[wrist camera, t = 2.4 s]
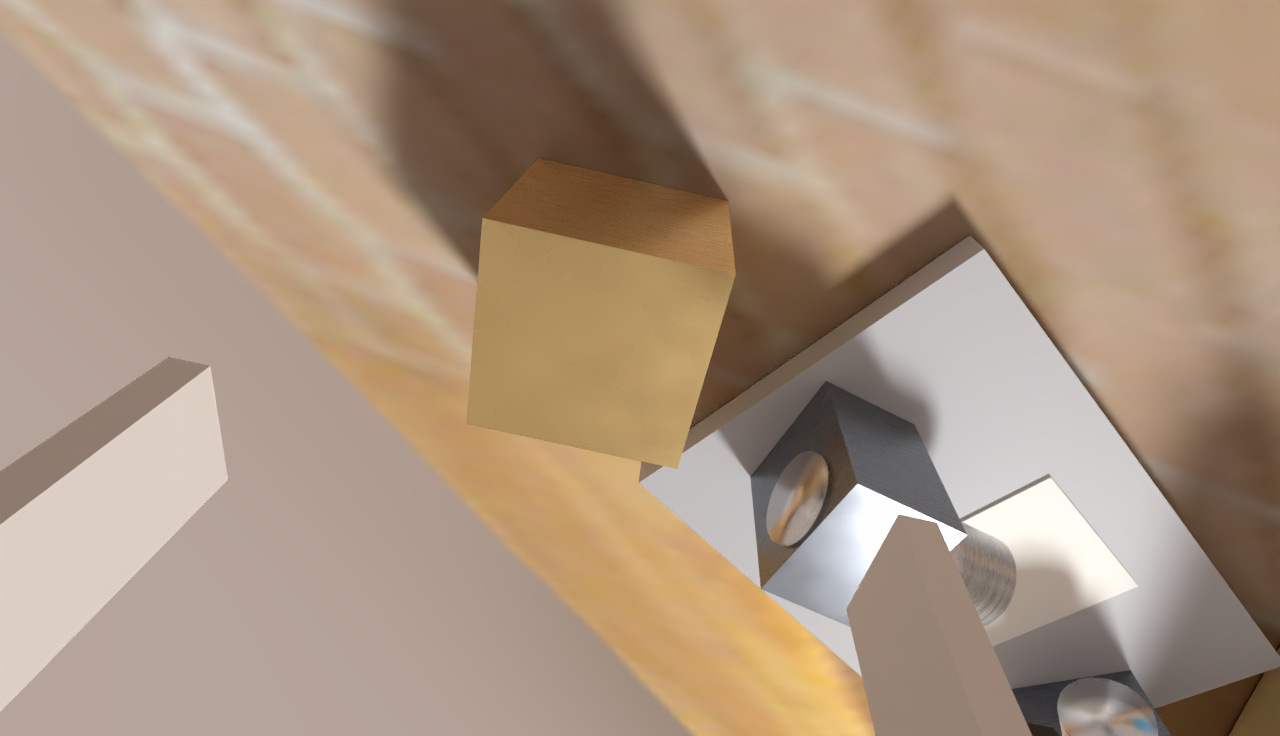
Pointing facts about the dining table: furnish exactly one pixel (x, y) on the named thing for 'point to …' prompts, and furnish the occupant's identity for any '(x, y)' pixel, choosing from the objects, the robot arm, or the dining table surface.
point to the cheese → (1262, 708)
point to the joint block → (598, 311)
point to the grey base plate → (995, 486)
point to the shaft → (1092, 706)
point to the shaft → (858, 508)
